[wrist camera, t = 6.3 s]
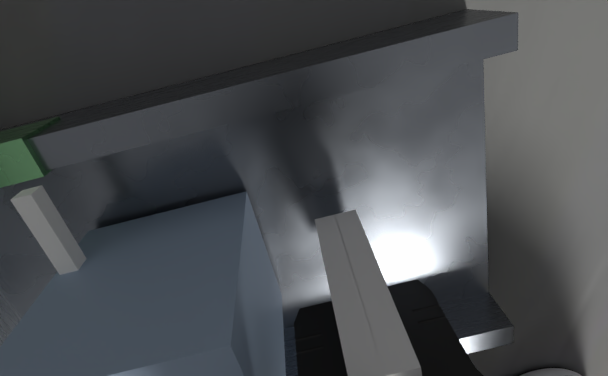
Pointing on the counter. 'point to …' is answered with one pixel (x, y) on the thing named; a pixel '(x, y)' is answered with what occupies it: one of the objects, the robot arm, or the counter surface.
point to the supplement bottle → (551, 372)
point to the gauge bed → (291, 165)
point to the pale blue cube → (151, 296)
